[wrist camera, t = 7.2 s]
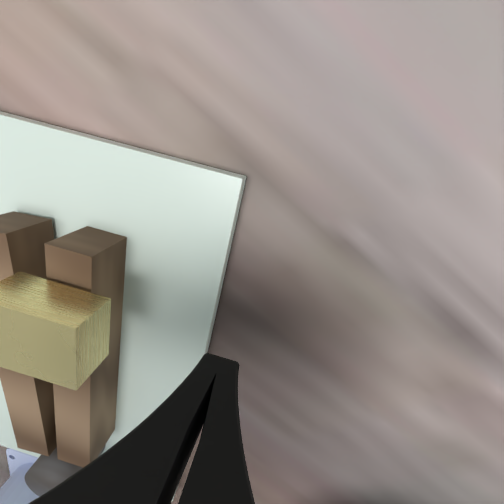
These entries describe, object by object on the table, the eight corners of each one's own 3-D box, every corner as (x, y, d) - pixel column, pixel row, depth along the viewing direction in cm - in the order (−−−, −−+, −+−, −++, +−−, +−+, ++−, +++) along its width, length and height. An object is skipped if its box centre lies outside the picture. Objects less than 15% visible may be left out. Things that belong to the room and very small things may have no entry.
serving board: (177, 486, 22) (172, 501, 21) (-58, 409, 23) (-73, 421, 22) (246, 176, 13) (242, 178, 12) (-156, 69, 14) (-190, 64, 13)
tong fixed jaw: (112, 462, 20) (83, 513, 17) (63, 446, 20) (26, 494, 18) (126, 236, 13) (82, 262, 11) (52, 215, 14) (-10, 235, 11)
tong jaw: (76, 420, 19) (48, 456, 17) (49, 413, 19) (17, 447, 17) (51, 219, 13) (5, 233, 11) (13, 211, 14) (-40, 224, 11)
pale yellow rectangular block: (108, 354, 13) (76, 390, 11) (25, 328, 13) (-21, 360, 11) (111, 298, 11) (75, 328, 10) (20, 271, 12) (-33, 295, 10)
